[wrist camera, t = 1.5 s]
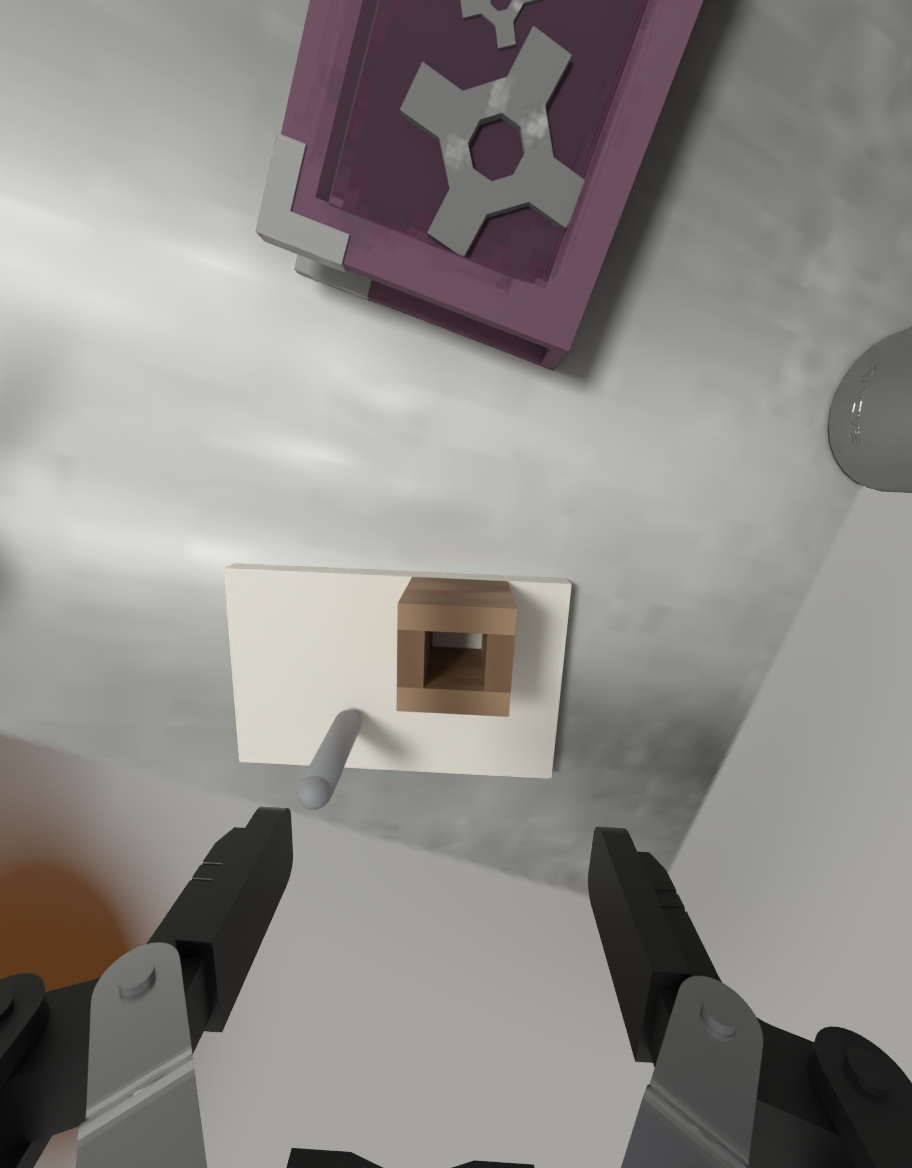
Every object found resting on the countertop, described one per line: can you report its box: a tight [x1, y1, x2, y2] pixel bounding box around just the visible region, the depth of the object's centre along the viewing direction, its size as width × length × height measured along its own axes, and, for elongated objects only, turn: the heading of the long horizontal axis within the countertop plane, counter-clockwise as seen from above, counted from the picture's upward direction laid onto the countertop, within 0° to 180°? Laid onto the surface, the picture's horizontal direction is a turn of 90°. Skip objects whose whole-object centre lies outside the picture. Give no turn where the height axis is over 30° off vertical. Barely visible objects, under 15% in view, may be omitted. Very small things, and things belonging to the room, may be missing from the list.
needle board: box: [224, 563, 572, 810], centre depth 27 cm, size 22×14×10 cm, turn 88°
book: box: [256, 0, 703, 370], centre depth 22 cm, size 25×16×5 cm, turn 160°
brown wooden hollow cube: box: [396, 577, 517, 717], centre depth 27 cm, size 6×6×6 cm
